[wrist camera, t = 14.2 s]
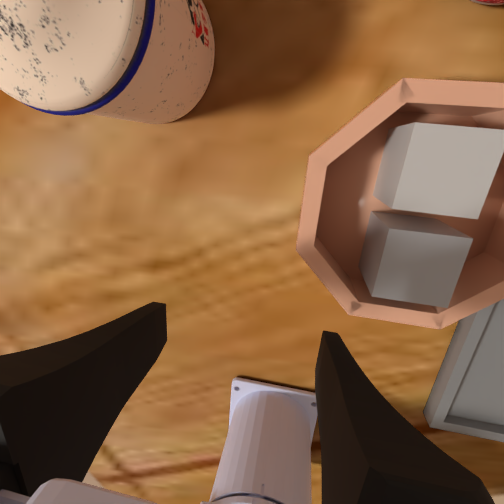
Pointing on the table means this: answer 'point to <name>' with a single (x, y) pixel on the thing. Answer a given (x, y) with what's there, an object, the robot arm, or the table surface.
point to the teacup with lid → (107, 56)
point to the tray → (472, 378)
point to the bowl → (363, 202)
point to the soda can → (489, 2)
